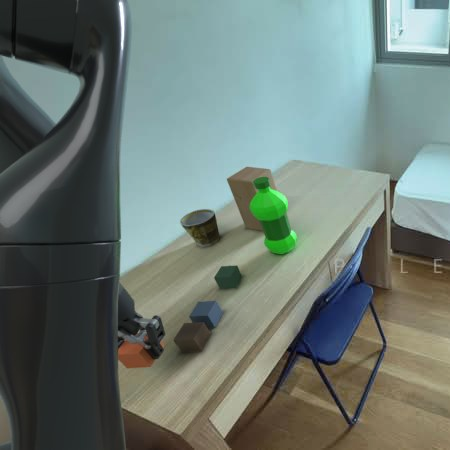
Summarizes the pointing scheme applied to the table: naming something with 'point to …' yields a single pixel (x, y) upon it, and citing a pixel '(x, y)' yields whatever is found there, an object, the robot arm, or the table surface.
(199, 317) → the block
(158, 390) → the table surface
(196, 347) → the block
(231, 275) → the block
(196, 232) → the ceramic cup
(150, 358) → the block
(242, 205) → the wooden block
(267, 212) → the plastic bottle
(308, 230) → the table surface
